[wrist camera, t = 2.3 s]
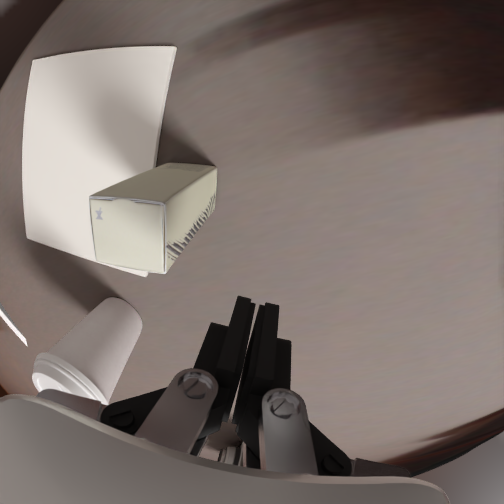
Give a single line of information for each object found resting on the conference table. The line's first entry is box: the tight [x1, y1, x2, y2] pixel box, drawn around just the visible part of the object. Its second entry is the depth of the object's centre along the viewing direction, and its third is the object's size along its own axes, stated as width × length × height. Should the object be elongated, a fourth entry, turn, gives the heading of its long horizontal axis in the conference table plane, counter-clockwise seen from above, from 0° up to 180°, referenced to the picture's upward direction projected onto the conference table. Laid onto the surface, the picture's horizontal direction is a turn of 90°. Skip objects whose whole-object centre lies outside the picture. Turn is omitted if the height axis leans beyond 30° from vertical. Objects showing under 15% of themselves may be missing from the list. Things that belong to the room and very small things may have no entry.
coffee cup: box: [32, 297, 142, 405], centre depth 28 cm, size 10×10×15 cm
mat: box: [22, 46, 177, 277], centre depth 26 cm, size 24×20×1 cm
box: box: [89, 163, 217, 274], centre depth 21 cm, size 5×4×13 cm
